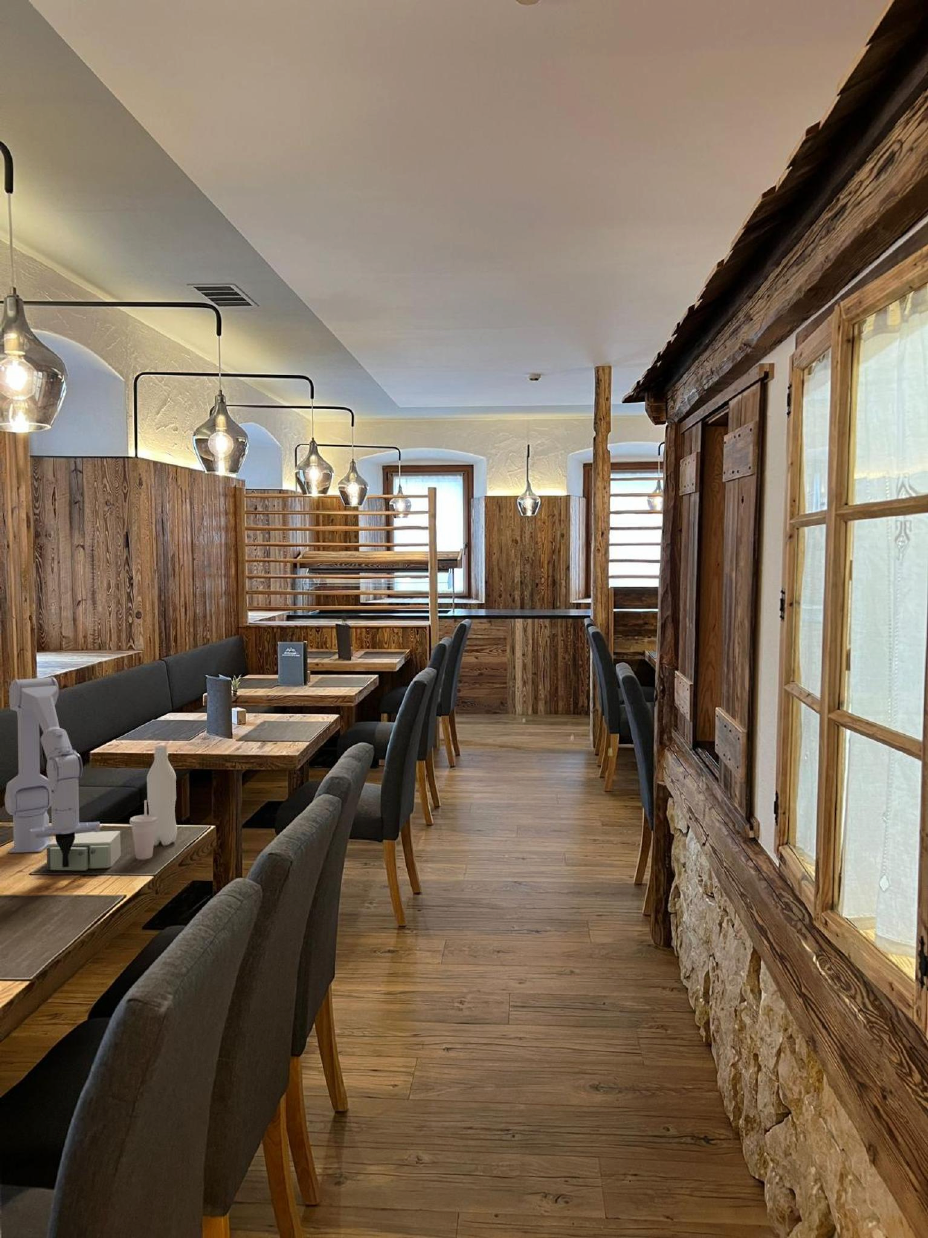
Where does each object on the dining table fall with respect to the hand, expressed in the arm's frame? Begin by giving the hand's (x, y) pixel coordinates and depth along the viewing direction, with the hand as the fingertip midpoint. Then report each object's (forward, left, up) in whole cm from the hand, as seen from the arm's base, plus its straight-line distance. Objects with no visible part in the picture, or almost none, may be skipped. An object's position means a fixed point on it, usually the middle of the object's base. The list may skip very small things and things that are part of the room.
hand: (66, 866), depth 207 cm
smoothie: (-11, +15, -2) cm, 19 cm away
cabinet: (-7, +2, -2) cm, 8 cm away
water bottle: (-22, +17, -2) cm, 28 cm away
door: (-2, -1, -2) cm, 3 cm away
